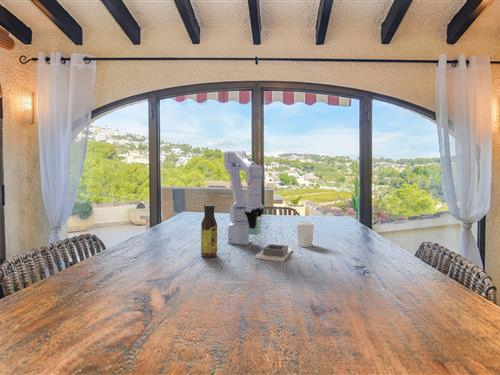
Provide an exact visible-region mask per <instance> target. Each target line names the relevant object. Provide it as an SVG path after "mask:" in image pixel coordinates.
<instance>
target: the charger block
mask: <svg viewBox="0 0 500 375" xmlns="http://www.w3.org/2000/svg"><path fill="white" fill-rule="evenodd" d="M248 234H249V235H252V236H258V235H259V234H261V218H260V216H257V219H256V226H255V228H250V227H249V223H248Z"/></svg>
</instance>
